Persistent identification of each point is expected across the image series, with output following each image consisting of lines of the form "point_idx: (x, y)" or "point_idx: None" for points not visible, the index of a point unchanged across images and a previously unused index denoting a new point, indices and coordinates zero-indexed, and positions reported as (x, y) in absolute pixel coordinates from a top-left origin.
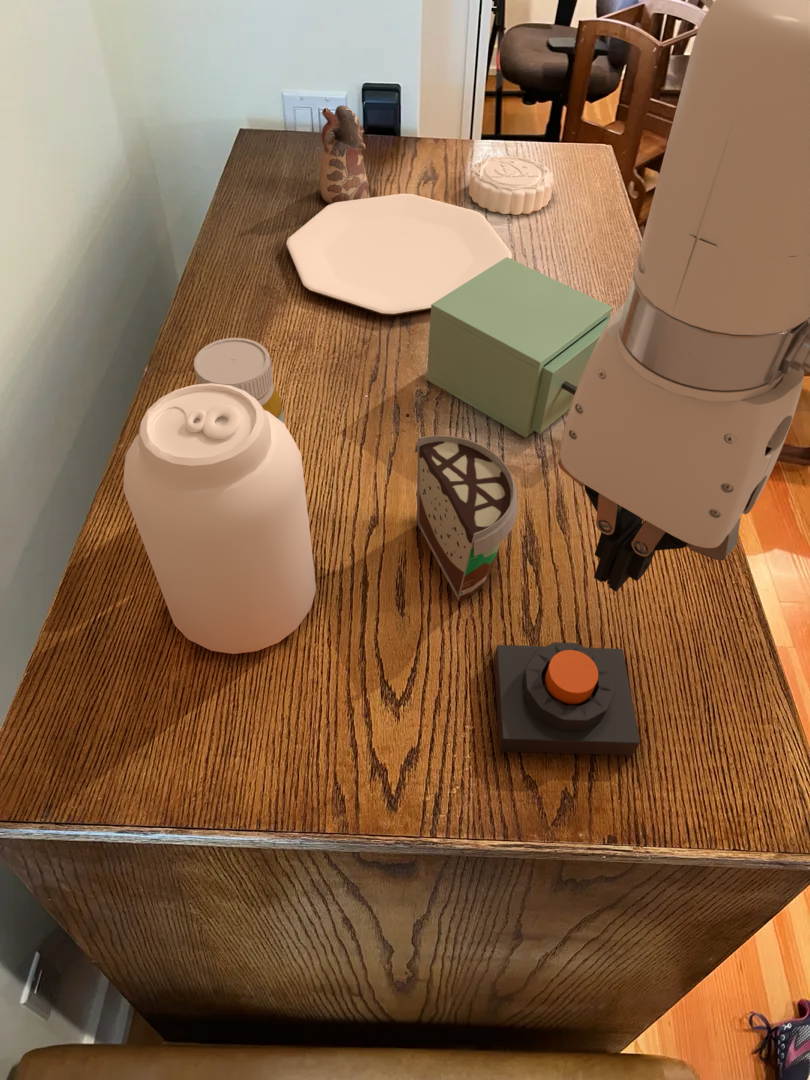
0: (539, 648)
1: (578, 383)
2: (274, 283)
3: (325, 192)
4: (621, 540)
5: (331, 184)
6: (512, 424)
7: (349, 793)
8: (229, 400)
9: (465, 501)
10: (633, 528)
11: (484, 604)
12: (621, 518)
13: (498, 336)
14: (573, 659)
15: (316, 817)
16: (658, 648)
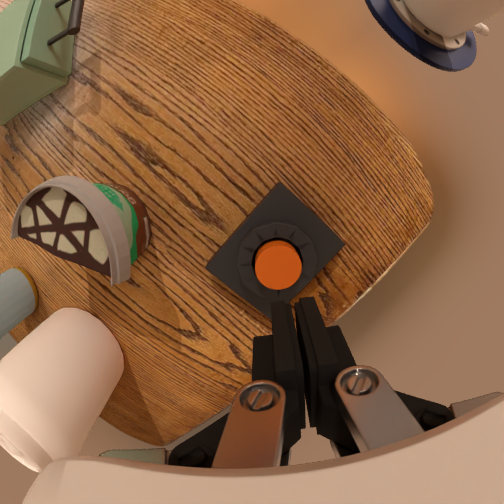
0: (230, 242)
1: (60, 26)
2: None
3: None
4: (304, 423)
5: None
6: (53, 88)
7: (229, 381)
8: None
9: (75, 251)
10: (304, 397)
11: (164, 229)
12: (286, 446)
13: None
14: (270, 259)
15: (230, 396)
16: (292, 141)
